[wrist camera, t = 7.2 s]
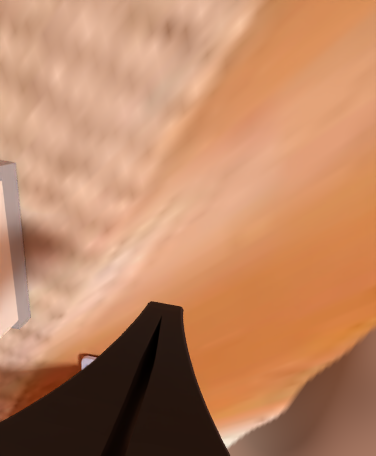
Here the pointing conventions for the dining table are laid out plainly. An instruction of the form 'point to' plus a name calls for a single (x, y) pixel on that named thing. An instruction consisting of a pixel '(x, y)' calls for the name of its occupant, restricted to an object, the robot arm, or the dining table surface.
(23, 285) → the plate
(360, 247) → the dining table surface
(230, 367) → the dining table surface
